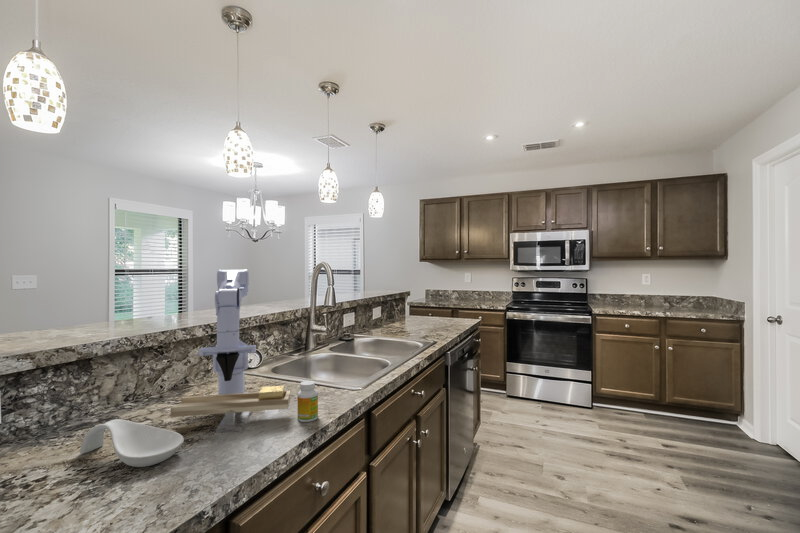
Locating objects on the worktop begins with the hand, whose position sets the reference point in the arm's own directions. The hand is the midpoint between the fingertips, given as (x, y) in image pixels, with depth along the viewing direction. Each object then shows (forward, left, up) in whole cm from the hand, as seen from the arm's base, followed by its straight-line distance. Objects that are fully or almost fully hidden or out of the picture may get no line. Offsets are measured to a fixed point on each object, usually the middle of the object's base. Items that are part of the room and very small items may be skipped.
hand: (228, 380), depth 101 cm
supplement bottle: (+7, +22, -10) cm, 25 cm away
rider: (+5, +12, -5) cm, 14 cm away
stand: (+5, +3, -10) cm, 11 cm away
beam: (+5, +3, -6) cm, 8 cm away
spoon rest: (+19, -16, -10) cm, 27 cm away
